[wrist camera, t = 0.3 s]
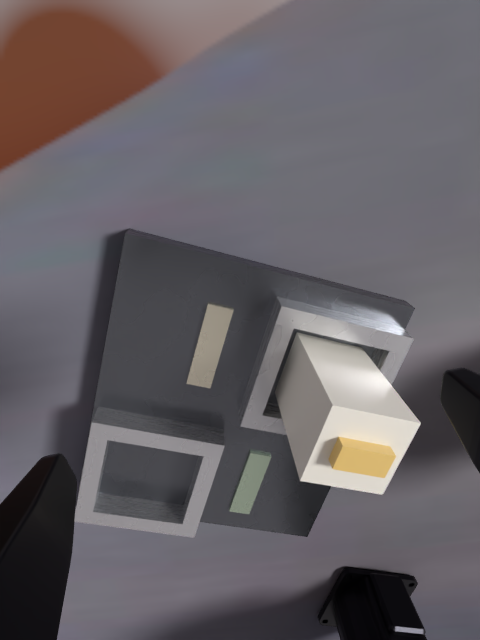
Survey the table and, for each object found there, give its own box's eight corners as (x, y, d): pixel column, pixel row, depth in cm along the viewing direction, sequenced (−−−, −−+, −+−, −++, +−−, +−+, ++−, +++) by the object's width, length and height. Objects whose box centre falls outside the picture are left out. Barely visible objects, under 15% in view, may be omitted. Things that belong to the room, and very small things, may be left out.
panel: (303, 522, 30) (312, 556, 28) (81, 489, 27) (68, 524, 25) (405, 300, 24) (428, 318, 21) (129, 228, 21) (118, 239, 19)
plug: (336, 404, 25) (388, 505, 18) (274, 392, 24) (303, 491, 17) (361, 347, 23) (428, 432, 16) (296, 332, 23) (337, 414, 16)
